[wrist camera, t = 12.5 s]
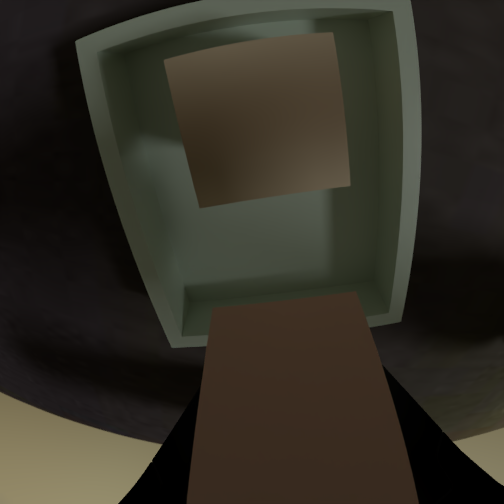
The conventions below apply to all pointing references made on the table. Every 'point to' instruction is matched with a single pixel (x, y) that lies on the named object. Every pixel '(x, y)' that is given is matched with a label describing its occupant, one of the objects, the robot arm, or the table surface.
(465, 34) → the table surface
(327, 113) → the maple block
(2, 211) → the table surface
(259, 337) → the coral block
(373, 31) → the sage tub
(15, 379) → the table surface
